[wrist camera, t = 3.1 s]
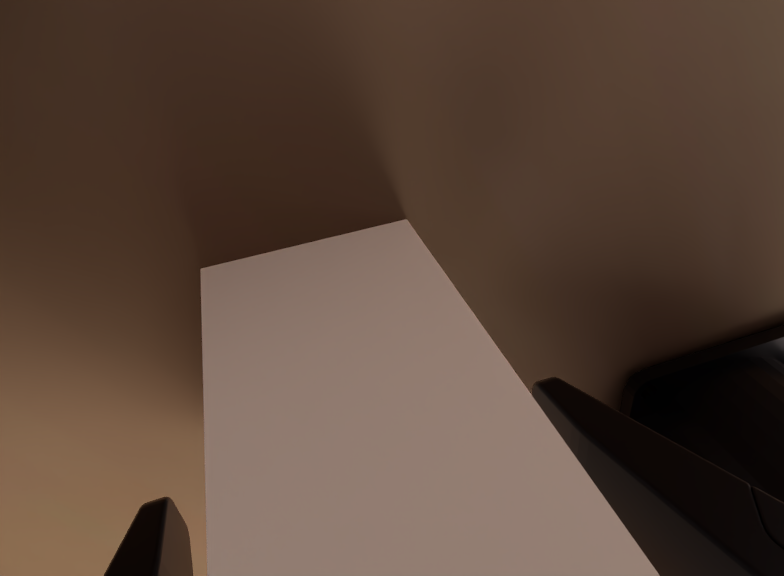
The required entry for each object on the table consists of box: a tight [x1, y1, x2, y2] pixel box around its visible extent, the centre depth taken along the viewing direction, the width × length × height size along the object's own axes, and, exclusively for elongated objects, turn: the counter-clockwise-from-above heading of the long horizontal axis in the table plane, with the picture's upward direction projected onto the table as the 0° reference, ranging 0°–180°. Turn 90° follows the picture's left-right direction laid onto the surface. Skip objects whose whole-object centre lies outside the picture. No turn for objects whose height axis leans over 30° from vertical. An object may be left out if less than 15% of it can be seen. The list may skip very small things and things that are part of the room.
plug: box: [200, 219, 660, 576], centre depth 9 cm, size 4×6×8 cm, turn 6°
